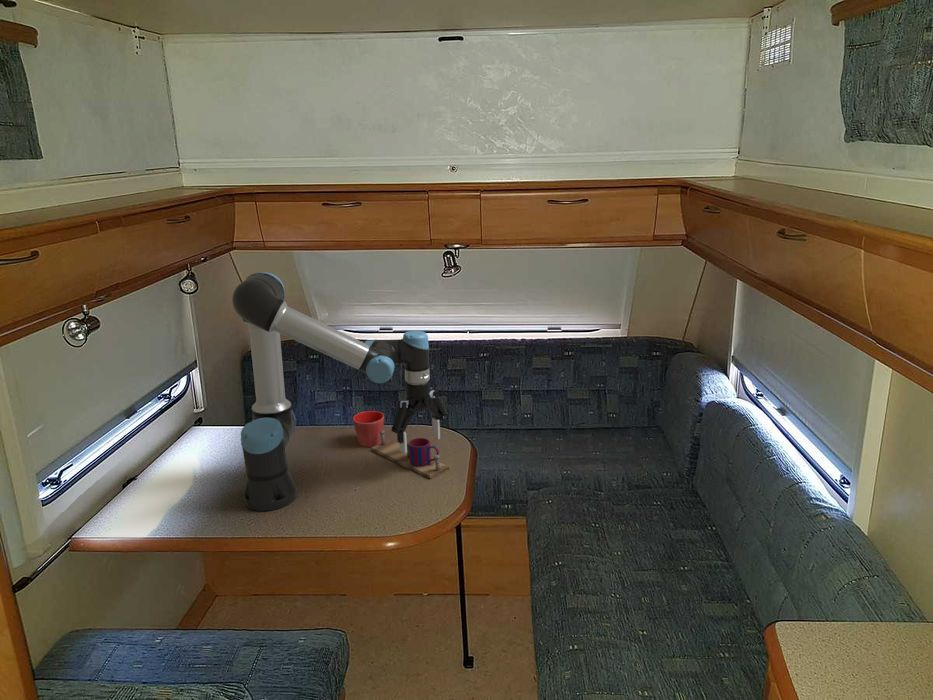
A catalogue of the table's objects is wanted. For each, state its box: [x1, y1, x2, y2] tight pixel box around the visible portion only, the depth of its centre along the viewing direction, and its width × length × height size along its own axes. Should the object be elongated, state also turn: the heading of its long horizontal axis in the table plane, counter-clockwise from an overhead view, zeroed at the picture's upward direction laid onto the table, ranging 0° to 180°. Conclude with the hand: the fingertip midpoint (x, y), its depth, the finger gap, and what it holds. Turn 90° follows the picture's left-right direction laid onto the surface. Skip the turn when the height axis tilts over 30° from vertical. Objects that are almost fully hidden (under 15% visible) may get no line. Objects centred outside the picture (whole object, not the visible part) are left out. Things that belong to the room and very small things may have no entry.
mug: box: [408, 437, 440, 467], centre depth 215 cm, size 7×10×7 cm
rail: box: [371, 429, 450, 480], centre depth 220 cm, size 30×8×6 cm, turn 44°
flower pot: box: [352, 410, 385, 448], centre depth 234 cm, size 11×11×10 cm
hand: (420, 444), depth 214 cm, fingers open, 13 cm apart
